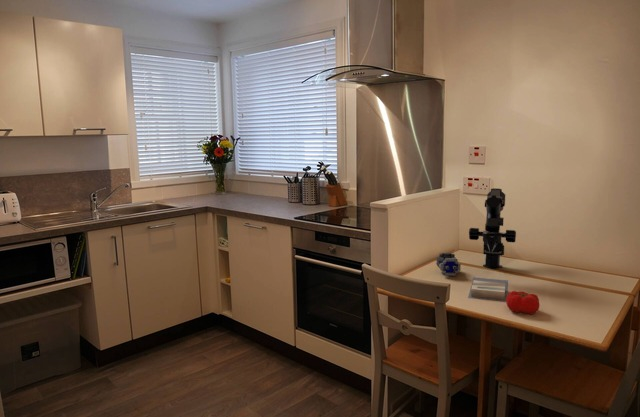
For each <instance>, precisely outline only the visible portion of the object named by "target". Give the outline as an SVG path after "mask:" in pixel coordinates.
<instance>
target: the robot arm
mask: <svg viewBox="0 0 640 417" xmlns="http://www.w3.org/2000/svg"><path fill="white" fill-rule="evenodd" d="M502 190H503V189H502V188H492V187H491V188H490V191H489V192H488V193H487V194H486V195H487V198H486V199H485V200H484V201H485V202H484V207H485V208H486V209H485V210H486V219H485V224H484V225H485V226H484V230H483V231H480V228H479V227H470V228H469V230H468V237H469V240H471V241H477V240H479V239H480V237H482V242H483V251H482V252H483V255H485V260H484V261H485V263H484V264H483V265H482V266H483V267H485V268H489V269H493V270H495V269H499V268H502V267H503V265H501V264H500V262H501V257H502V256H504V255H505V245H504V243H503V242H502V238H504V239H505V241H506V242H507V243H516V237H517V231H516V230H514V229H506V230H505V232H500V231H501V228H500V227H501V226H502V227H503V226H504V219H505V218H504V217H501V212H502V211H503V210H504V207H505V206H506V193H504V192H503V191H502Z"/></svg>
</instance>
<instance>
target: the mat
mask: <svg viewBox="0 0 640 417" xmlns="http://www.w3.org/2000/svg"><path fill="white" fill-rule="evenodd" d="M474 280H479V281H489V282H500V283H505V298H504V300H502V299H492V298H483V297H473V296H471V288H472V285H473V281H474ZM471 282H472V283H471V285H470V289H469V293H468V297H467V298H468V299H474V300H475V299H476V300H484V301H493V302H502V303H506V298H507V296H508V294H509V292H508V291H509V280H506V279H496V278H495V279H494V278H485V277H473V278H472V281H471Z"/></svg>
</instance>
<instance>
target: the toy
mask: <svg viewBox="0 0 640 417" xmlns="http://www.w3.org/2000/svg"><path fill="white" fill-rule="evenodd" d="M455 256H456V255H455V253H452V252H441V253H439V255H438V257H436V261H435V262H436V266H437V268H439V269H440V272H442V274H444V275H445V276H447V277H449V276H454V277H456V274H458V273H459V272H460V271H461V266H462V264H461V263H460V262H459V259H457V258H456V257H455Z"/></svg>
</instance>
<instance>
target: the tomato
mask: <svg viewBox="0 0 640 417" xmlns="http://www.w3.org/2000/svg"><path fill="white" fill-rule="evenodd" d="M505 303H506V305H507V307H508V310H509V311H512V312H514V313H524V314H527V315H529V314H535V313H537V312H538V311H539V309H540V299H539V297H538V295H537V294H535V293H529V292H525V291H523V290H522V291H521V290H519V291H516V290H512V291H510V292H508V295H507V298H506V302H505Z"/></svg>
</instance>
